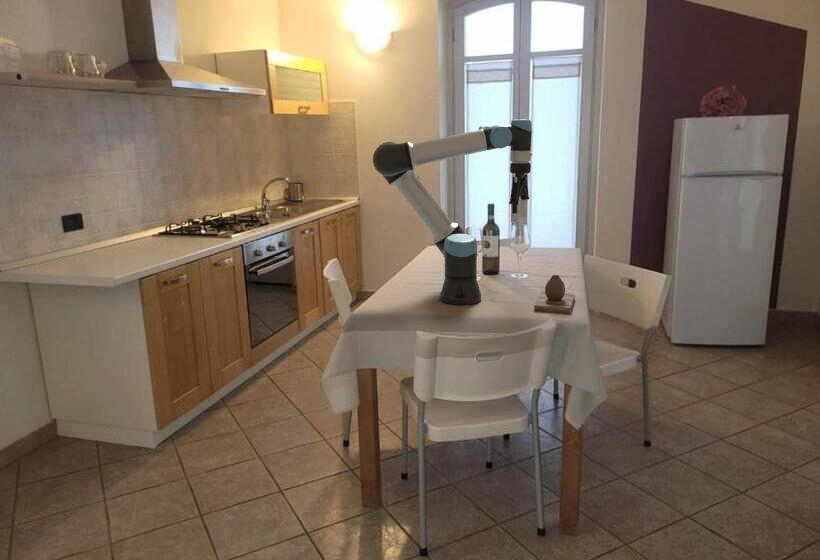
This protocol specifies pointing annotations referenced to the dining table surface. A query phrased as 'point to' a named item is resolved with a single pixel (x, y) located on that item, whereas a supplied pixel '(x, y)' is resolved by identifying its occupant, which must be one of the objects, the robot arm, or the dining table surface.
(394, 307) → the dining table surface
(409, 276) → the dining table surface
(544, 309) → the walnut board
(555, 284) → the vase
